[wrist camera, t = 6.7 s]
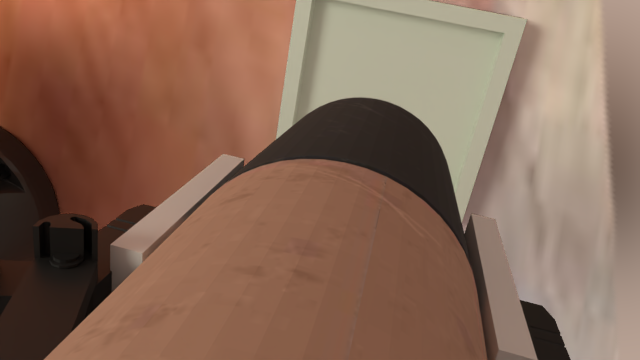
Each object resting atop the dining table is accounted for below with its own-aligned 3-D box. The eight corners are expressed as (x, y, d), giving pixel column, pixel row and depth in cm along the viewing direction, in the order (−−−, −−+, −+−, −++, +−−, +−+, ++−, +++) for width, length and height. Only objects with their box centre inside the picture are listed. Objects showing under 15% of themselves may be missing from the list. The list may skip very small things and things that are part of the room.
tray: (276, 172, 38) (270, 179, 36) (305, -24, 32) (299, -25, 31) (459, 216, 36) (460, 225, 35) (522, 18, 31) (527, 19, 29)
